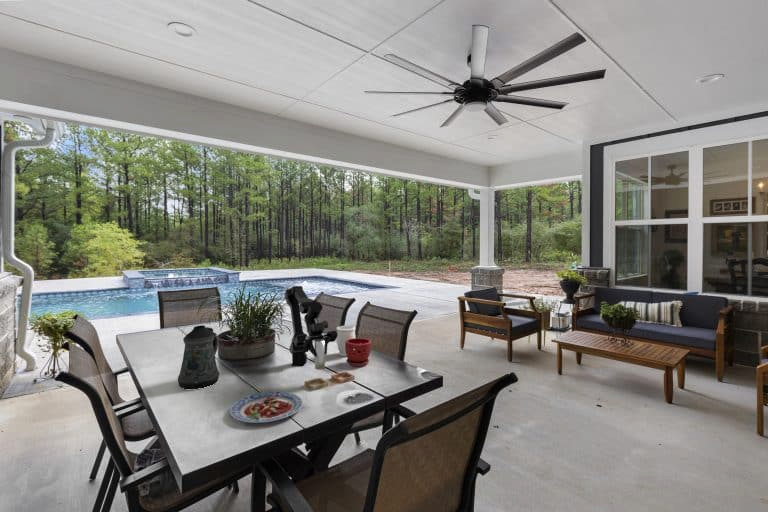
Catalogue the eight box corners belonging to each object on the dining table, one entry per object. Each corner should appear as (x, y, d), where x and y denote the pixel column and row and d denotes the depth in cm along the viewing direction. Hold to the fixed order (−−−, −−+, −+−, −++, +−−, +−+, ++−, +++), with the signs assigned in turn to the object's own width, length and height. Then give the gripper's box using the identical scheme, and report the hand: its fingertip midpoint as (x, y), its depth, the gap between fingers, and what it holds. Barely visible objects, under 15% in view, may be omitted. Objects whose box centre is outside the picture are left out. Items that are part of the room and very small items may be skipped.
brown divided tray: (310, 392, 156) (310, 387, 156) (302, 386, 163) (302, 381, 163) (356, 381, 169) (356, 376, 169) (346, 375, 176) (346, 371, 176)
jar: (354, 357, 203) (354, 329, 203) (335, 357, 204) (335, 329, 203) (356, 351, 214) (356, 325, 213) (338, 351, 214) (338, 325, 213)
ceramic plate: (276, 391, 159) (276, 384, 158) (316, 409, 142) (316, 401, 142) (216, 412, 139) (216, 404, 138) (255, 436, 122) (255, 427, 122)
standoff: (313, 369, 163) (313, 342, 162) (315, 366, 167) (315, 339, 166) (324, 369, 163) (323, 342, 162) (325, 366, 167) (325, 339, 166)
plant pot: (367, 368, 185) (367, 344, 185) (342, 367, 188) (341, 343, 187) (373, 360, 198) (373, 337, 198) (349, 358, 201) (349, 336, 200)
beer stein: (173, 392, 157) (171, 332, 156) (184, 376, 176) (183, 322, 175) (216, 388, 161) (215, 330, 160) (222, 372, 180) (221, 320, 179)
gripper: (295, 316, 163) (303, 349, 154) (336, 312, 172) (346, 342, 163) (291, 330, 170) (298, 362, 161) (330, 326, 179) (339, 355, 170)
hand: (320, 355), depth 163 cm, fingers closed on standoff, 4 cm apart
